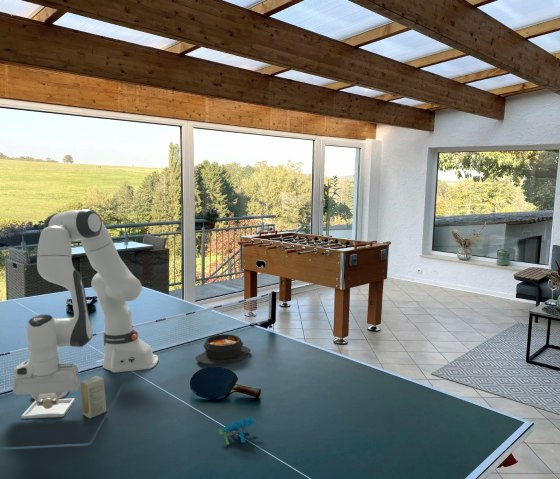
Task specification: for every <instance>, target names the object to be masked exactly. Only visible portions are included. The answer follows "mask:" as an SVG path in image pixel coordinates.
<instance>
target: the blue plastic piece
mask: <svg viewBox="0 0 560 479" xmlns="http://www.w3.org/2000/svg"><path fill="white" fill-rule="evenodd" d="M253 424H256V423H255V418H254V417H250V418H249V417H245V418H244V419H242V418H241V419H238V420H237V422H234V421H232V422H230V423H229V425H225V426H224V428H222V429H219V430H218V432H219V435H220V436H222V438H223V439H224V440H225V443H226V446H229V445H230V442H229V438H228V437H232V436H234V435H238V434H239V437H240V438H239V439H240V442H241V443H242V444H244V443H246V440H245V437H244V433H243V432H244V431H245V430H247V429H248V427H252V426H253Z"/></svg>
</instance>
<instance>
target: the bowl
mask: <svg viewBox="0 0 560 479" xmlns="http://www.w3.org/2000/svg"><path fill="white" fill-rule="evenodd" d="M68 393H69V392H62V394H61V396H60V398H59V399H62V398H64V397H66V396H67V394H68ZM39 397H40V398H41V399H46V398H48V397H50V398H52V399H54V398H57V396H56V394H55V393H45V394H39ZM31 398H32V399H34V398H33V394H31Z"/></svg>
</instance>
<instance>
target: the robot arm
mask: <svg viewBox="0 0 560 479" xmlns="http://www.w3.org/2000/svg"><path fill="white" fill-rule="evenodd" d="M42 228H43V229H42V230H41V232H40V235H39V239H38V244H37V254H36V269H37V273H38V275H40V276H41V278H42V279H44V280H46V281H47V282H49V283H52V284H55V285H58V286H61V287H63V288H65V289H66V290H68V292H69V294H70V295H71V302H72V303H71V304H72V309H73V317H64V318H63V317H60V318H58V317H54V318H53V316H52V315H51V314H39V315H36V316H33V317H32V318H30V319H29V320H28V321H27V327H26V343H27V344H26V345H27V348H28V351H29V355H28V359H27V360H25V361H22V362H20V363H19V364H18V365H17V366H16V367H15V368H14V370H13V375H14V376H13V378H12V393H13V394H14V395H16V396H24V395H26V396H27V395H32V394H33V398H32V399H34V401H35V400H36V401H37V406H43V405H42V403H43V400H44V399H41V398H40V397H39V394H45V393H55V394H56V396H57V398H54V400H53V405H58V404H59V399H61V398H60V396H61V394H62V392H68V393H75V392H77V390H78V389H79V388H80V386H81V382H80V378H79V368H78V366H77V365H75V364H73V363H60V355H59V351H58V347H59V348H61V347H74V348H75V347H76V348H82V347H84V346H86V345H87V344H88V343H89V342H90V341H91V340H92V338H93V326H92V322H91V318H90V313H89V308H88V301H87V296H86V290H85V284H84V280H83V276H82V274H81V272H80V271H78V270H76V268H75V267H74V265H73V261H72V260H73V259H72V258H73V255H72V253H73V252H72V243H73V241H74V242H75V241H78V240H80V242H81V245H82V248H83V250H84V253H85V255H86V257H87V259H88V261H89V263H90V266H91V267H92V269H93V270H95V271H96V274H94V276H93V277H92V278H91V282H90V283H91V288H92V290H93V292H94V293H95V295H96V296H97V299H98V301H99V304H100V307H101V311H102V316H103V326H104V329H103V330H104V332H103V344H104V356H103V362H102V365H103V366H102V368H103V369H105V370H108V371H110V372H111V373H123V372H132V371H140V370H150V369H152V368H154V367H156V366H157V364H158V363H159V356H158V355H157V354H154V353H153V349H152V346H151V345H150V344H148V343H146V342H145V341H143V340H142V339H140V338H139V336H138V335H139V334H138V332H139V330H135V329H133V316H132V315H133V313H132V310H131V308H129V306H128V304H127V302H132V301H135V300H137V299H138V298H139V297H140V296H141V293H142V290H143V287H142V286H143V285H142V283H141V281H140V280H139V278H137V277H136V276H135V275H134V274H133V273H132V272H131V271H130V269H129V268H128V266H127V265H126V264H125V261H123V260H122V258H121V256H120V255H119V252H118V250H117V248H116V245H115V243H114V241H113V238H112V237H111V235H110V233H109V231H108V229H107V227H106V225H105V224H104V223H103V221H102V219H101V217H100V214H98V212H96V211H94V209H89V208H88V209H87V208H86V209H85V208H83V209H74V210H68V211H64V212H60V213H54V214H51V215H49V216H48V217H47V218H45V220H44V222H43V227H42Z"/></svg>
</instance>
